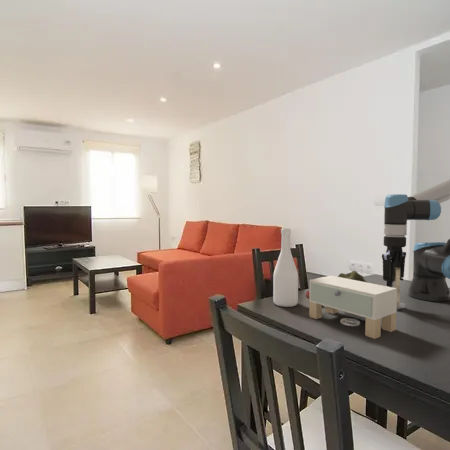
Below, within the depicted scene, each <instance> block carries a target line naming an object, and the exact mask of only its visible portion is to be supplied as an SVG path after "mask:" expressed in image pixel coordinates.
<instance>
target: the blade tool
mask: <svg viewBox="0 0 450 450" xmlns="http://www.w3.org/2000/svg"><path fill="white" fill-rule="evenodd" d="M393 282H395V288H397V309H396V311H398V310H401V309H405V308H406V303H404V302H400V298H399V295H400V296H401V294H400V293H401V280H400V268H398V267H395V272H394V281H393ZM343 313H344V314H343V315H344V316H347V317H349V318H352V319H356V320H359V321H363V322H366V317H362V316H359V315H355V314H352V313H348V312H345V311H343Z"/></svg>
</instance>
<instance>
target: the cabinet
mask: <svg viewBox="0 0 450 450" xmlns="http://www.w3.org/2000/svg"><path fill="white" fill-rule="evenodd" d="M308 300H309V309H308V310H309V315H308V316H309V318H311V319H315V320H318V319H321V318H322V317H323V307H324V306H326V307H325V313H328V314H332V315H334V314H337V313H338V312H339V311H341V312H342V311H343V312H344V311H345V312H348V313H352V314H355V315H359V316H362V317H366V321H365V326H364V327H365V329H364V330H365V331H364V334H365V336H366V337H368V338H371V339H373V340H376V339H378V338H381V330H384V331H386V332H390V333H391V332H394V331H396V330H397V310H396V309H397V288H393V287H387V285H381V284H376V283H371V282H368V281H366V282H362V281H357V280H352V279H347V278H341V277H338V276H335V275H327V276H322V277H317V278H313V279H309V299H308ZM323 305H324V306H323Z"/></svg>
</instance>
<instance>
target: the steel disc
mask: <svg viewBox="0 0 450 450" xmlns="http://www.w3.org/2000/svg"><path fill="white" fill-rule="evenodd" d="M340 323H341V324H342V325H343V326H348V327H358V326H360V325H361V320H360V319H356V318H353V317H343V318H341V319H340Z"/></svg>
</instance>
